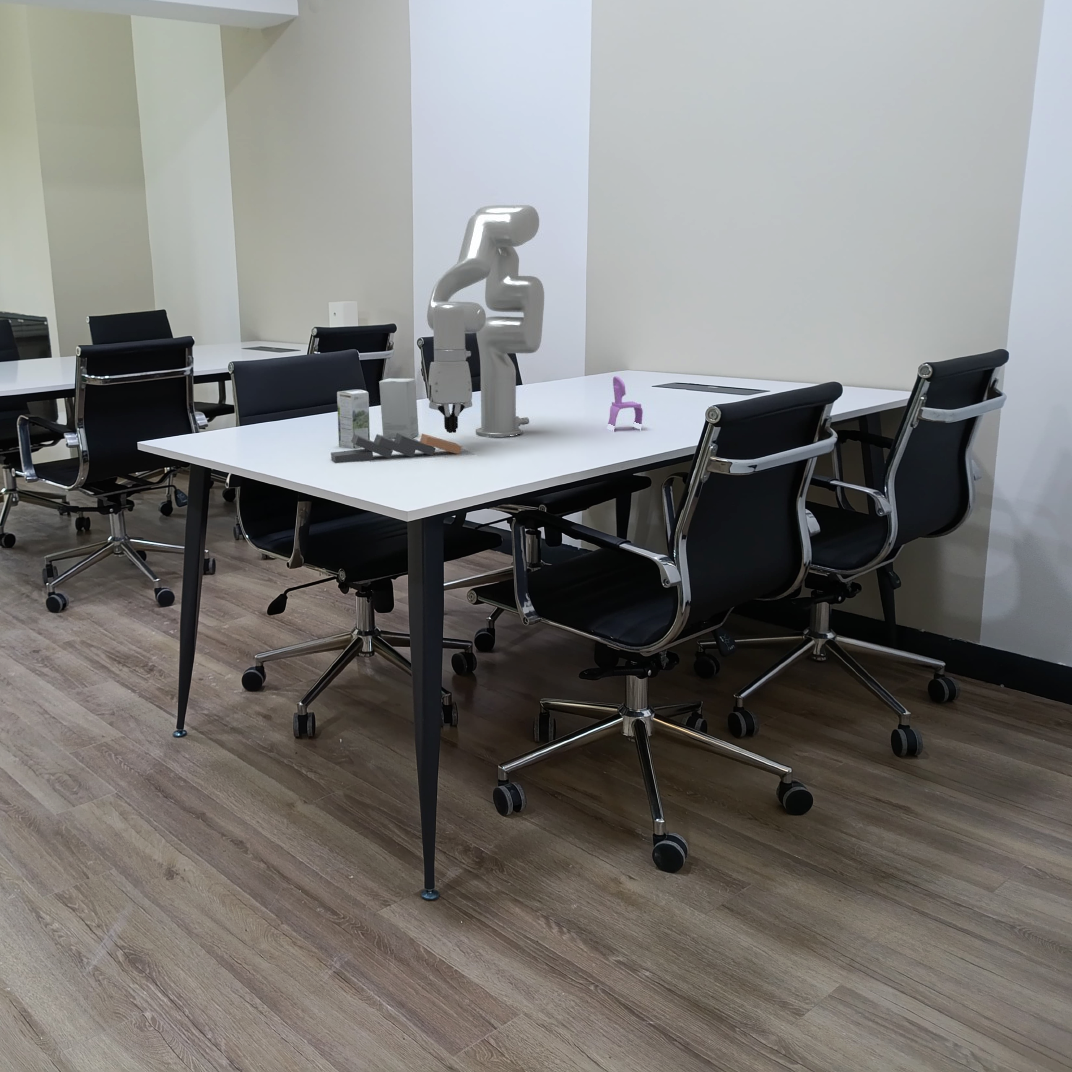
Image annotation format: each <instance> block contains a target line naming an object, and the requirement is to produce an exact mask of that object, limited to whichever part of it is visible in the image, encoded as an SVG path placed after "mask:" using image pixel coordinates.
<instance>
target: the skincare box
mask: <svg viewBox="0 0 1072 1072" xmlns="http://www.w3.org/2000/svg"><path fill="white" fill-rule="evenodd" d="M378 383H379V396H380V398H379V399H380V414H381V425H382V426H381V427H382V436H384V437H386V438H389V439H395V437H396V434H397V433H399V434H402V435H405V436H407V437H410V438H413V439H414V438H416V437H417V436H419V418H418V402H417V388H416V386H417V385H416V383H417V382H416V378H394V377H393V378H390V377H389V378H386V379H383V380H380V381H378Z"/></svg>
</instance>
